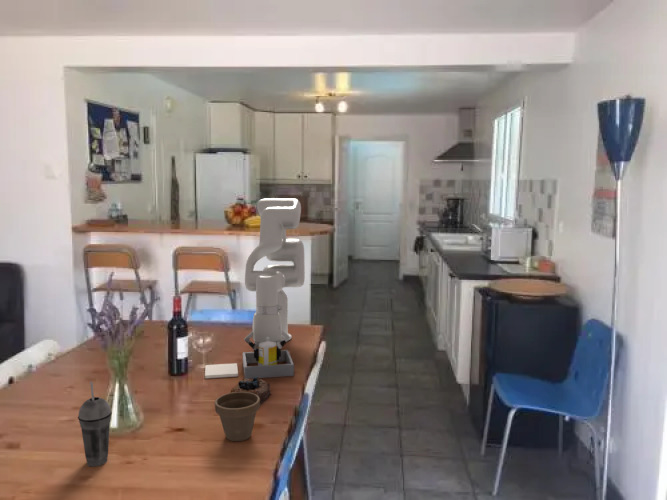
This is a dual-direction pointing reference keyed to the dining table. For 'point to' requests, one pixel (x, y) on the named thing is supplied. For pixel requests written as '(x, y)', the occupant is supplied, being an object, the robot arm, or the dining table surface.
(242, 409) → the flower pot
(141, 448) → the dining table surface
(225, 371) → the tile
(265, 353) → the supplement bottle
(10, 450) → the dining table surface
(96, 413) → the beverage cup
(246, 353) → the bin
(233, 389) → the pastry
